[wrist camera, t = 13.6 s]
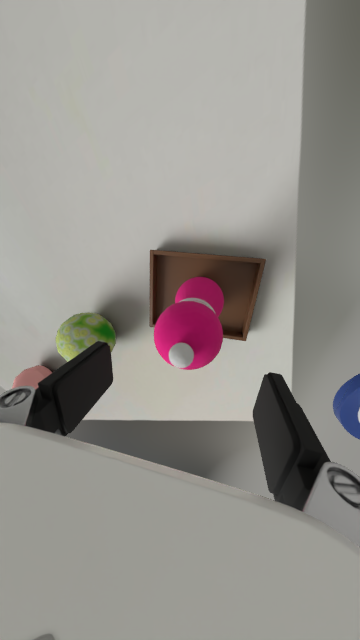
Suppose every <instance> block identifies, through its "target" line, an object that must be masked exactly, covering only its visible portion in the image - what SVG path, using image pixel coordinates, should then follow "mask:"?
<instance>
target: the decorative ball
mask: <svg viewBox="0 0 360 640" xmlns="http://www.w3.org/2000/svg"><path fill="white" fill-rule="evenodd" d="M115 337H116V334H115V331H114V329H113V327H112V324H111V323H110V322H109V321H107V320H106V319H105V318H104V317H102V316H101V315H98V314H95V313H80V314H76V315H74V316H72V317H71V318H69V319H68V320H66V321H65V322H64V323H63V324H62V325H61V326H60V328H59V329H58V331H57V336H56V344H57V350H58V352H59V354H61V356H62V357H63V358H64V359H65V360H66V361H70V360H71V359H73V358H74V357H76V356H77V355H78V354H80V353H81V352H83V351H84V350H85V349H87V348H88V347H90V346H91V345H93V344H94V343H95V342H97V341H101V342H107V343H108V345H109V346H110V350H111V352H112V350H113V347H114V346H115V343H116V340H115Z"/></svg>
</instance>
